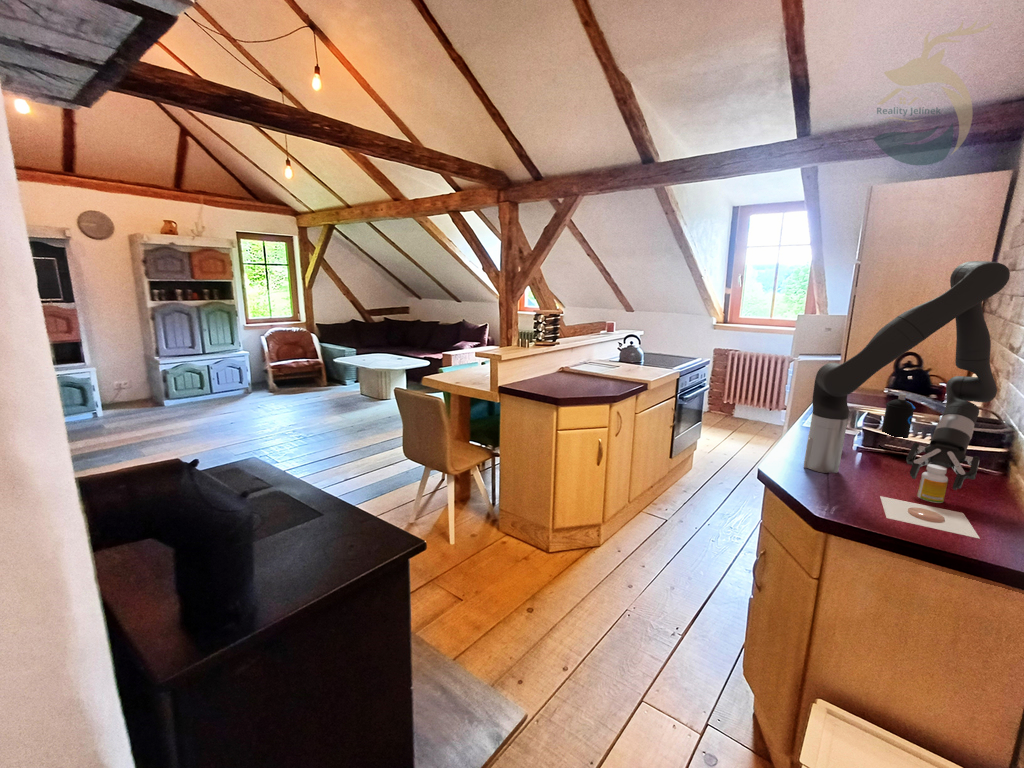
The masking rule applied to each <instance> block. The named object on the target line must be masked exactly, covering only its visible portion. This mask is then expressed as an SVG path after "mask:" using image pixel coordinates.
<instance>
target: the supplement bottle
mask: <svg viewBox="0 0 1024 768" xmlns="http://www.w3.org/2000/svg"><path fill="white" fill-rule="evenodd" d="M947 471H948V468H947V467H943V466H941V465H934V464H933V463H930V464H928V465H926V471H924V472H922V473H921V477H920V481H919V485H918V490H917V494H916V496H917V497H918V498H919V499H921V500H922V501H923V500H924V501H926V502H931V503H936V504H941V503H944V501H945V495H946V491H947V486H948V483H949V478H948V476H946V475H947Z"/></svg>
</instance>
